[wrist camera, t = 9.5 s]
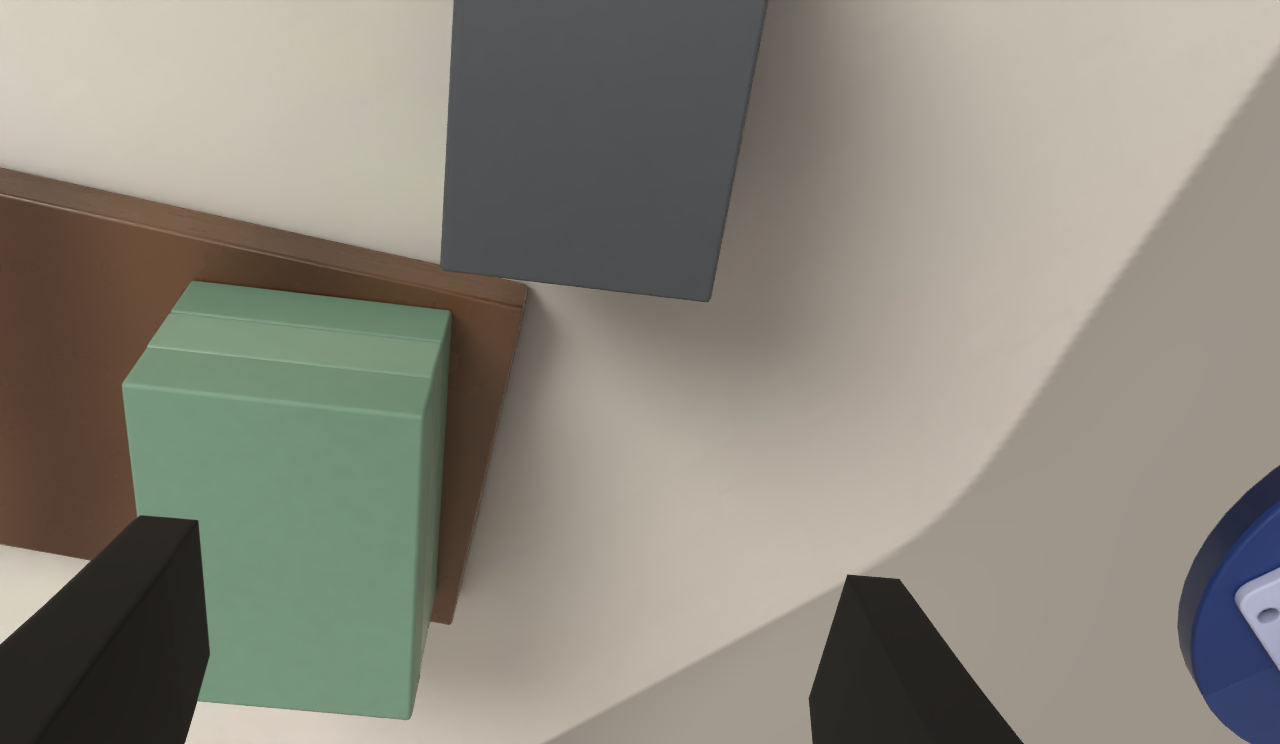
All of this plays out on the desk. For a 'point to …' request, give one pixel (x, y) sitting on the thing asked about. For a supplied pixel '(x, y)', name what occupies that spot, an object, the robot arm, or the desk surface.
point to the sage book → (294, 521)
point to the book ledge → (134, 311)
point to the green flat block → (325, 353)
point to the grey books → (596, 140)
